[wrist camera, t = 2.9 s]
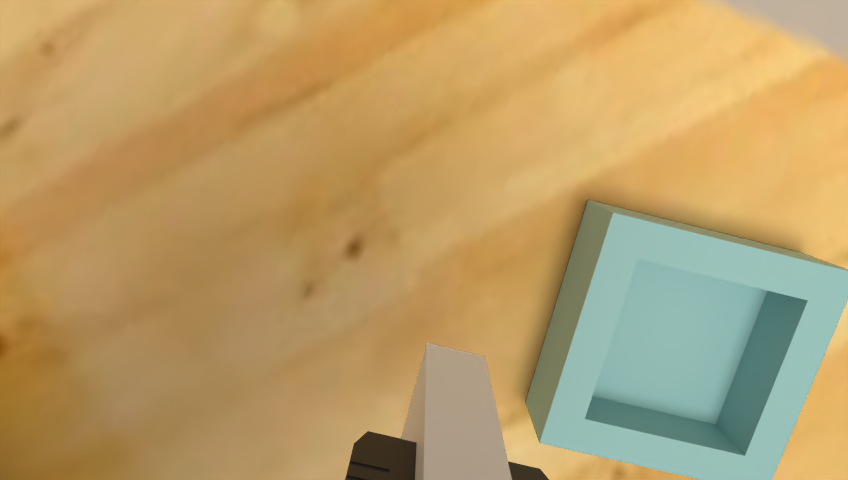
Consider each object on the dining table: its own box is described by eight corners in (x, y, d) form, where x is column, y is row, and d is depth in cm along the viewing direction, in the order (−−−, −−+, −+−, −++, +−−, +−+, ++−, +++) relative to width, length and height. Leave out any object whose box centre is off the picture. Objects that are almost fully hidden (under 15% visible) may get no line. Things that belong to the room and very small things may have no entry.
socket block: (525, 402, 27) (539, 443, 24) (587, 199, 25) (613, 212, 22) (724, 448, 28) (765, 494, 25) (801, 252, 26) (858, 273, 22)
